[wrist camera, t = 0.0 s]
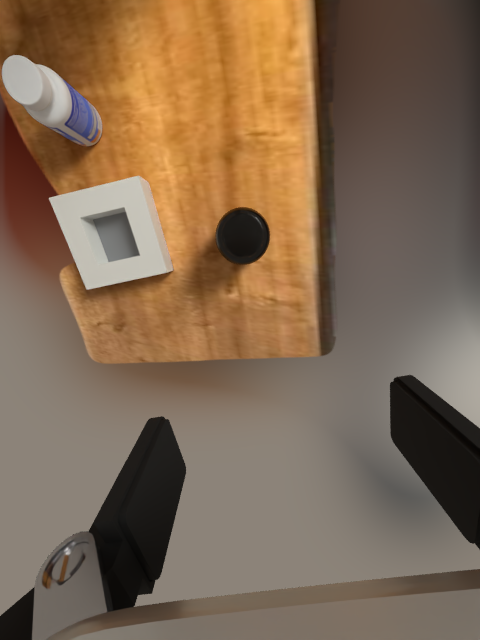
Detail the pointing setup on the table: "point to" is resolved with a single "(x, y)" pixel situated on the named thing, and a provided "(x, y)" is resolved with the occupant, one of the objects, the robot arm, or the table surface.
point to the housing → (113, 232)
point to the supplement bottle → (242, 236)
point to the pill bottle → (51, 100)
